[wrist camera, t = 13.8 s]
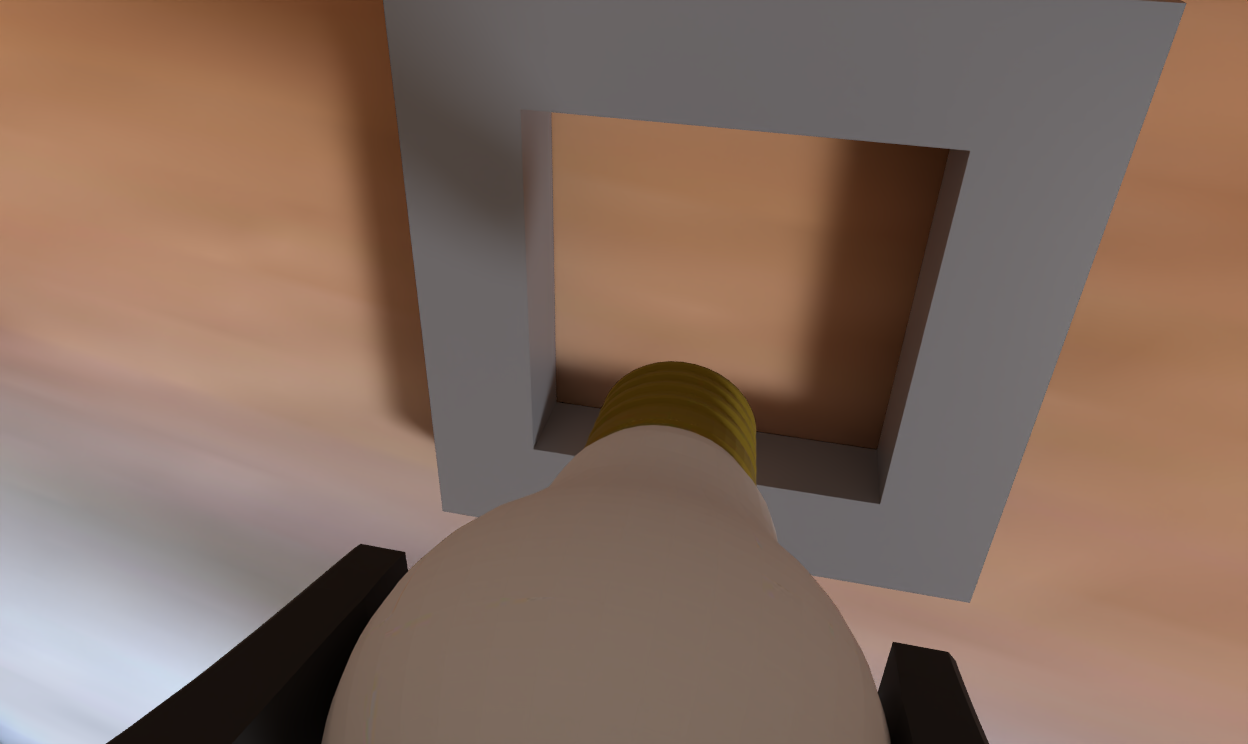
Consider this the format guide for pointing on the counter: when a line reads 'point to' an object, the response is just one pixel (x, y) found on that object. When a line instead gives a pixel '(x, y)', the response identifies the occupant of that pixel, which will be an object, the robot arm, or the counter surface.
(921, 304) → the grey flat frame
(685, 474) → the light bulb
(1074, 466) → the counter surface
